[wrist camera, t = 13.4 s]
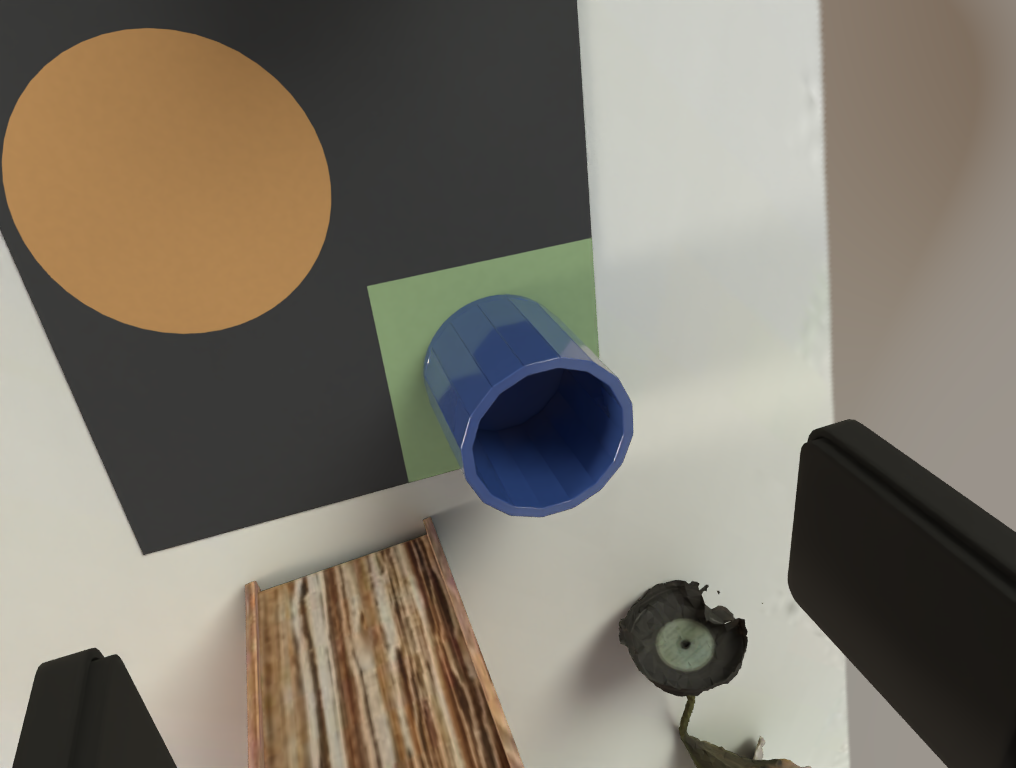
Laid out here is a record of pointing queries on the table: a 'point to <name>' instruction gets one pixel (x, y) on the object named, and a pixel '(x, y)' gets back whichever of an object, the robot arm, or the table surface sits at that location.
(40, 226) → the desk mat
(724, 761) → the artificial flower
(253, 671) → the book
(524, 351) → the blue cup
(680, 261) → the table surface
